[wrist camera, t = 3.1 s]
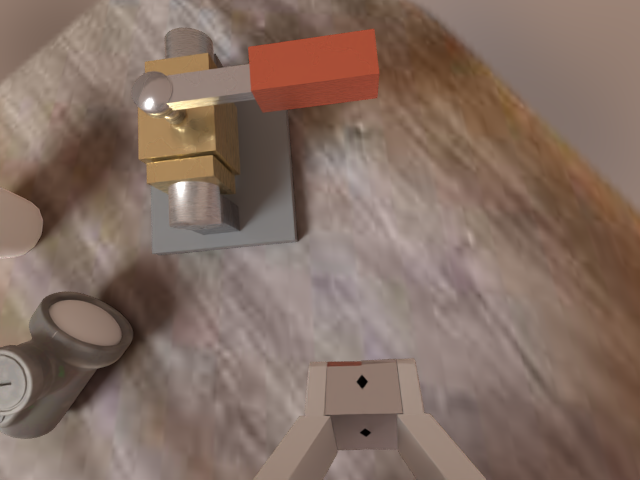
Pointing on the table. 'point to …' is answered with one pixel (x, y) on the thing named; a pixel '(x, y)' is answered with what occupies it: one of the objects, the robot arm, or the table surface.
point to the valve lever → (273, 77)
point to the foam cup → (18, 224)
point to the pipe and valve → (192, 145)
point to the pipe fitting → (57, 361)
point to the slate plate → (244, 191)
